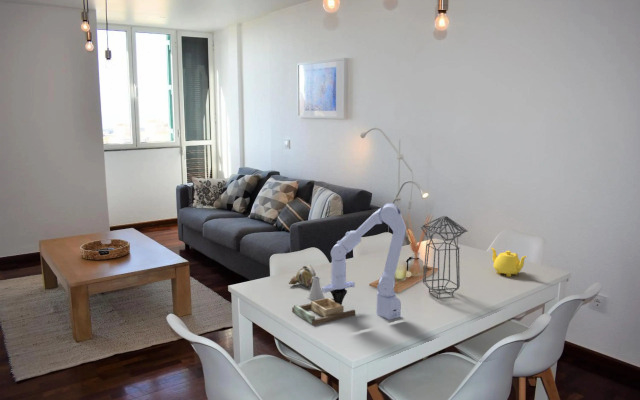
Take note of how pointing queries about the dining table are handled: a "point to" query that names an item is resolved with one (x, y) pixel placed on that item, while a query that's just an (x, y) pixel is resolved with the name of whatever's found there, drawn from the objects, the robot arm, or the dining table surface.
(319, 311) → the light wooden drawer
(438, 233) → the geometric lantern
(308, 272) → the ceramic sculpture
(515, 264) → the teapot
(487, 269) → the dining table surface
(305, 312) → the bay
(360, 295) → the dining table surface
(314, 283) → the flask
